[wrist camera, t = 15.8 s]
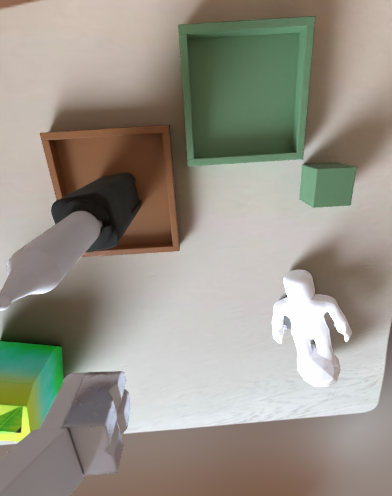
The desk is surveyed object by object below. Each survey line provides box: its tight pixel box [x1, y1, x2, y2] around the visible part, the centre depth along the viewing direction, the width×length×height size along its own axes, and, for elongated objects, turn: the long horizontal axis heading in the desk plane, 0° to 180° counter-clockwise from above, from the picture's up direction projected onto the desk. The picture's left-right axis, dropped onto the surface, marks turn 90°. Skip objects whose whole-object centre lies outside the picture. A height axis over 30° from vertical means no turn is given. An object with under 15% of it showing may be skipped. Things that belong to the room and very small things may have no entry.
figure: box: [272, 270, 352, 387], centre depth 43 cm, size 11×7×20 cm
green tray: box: [178, 16, 315, 166], centre depth 32 cm, size 14×14×3 cm
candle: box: [0, 173, 142, 310], centre depth 25 cm, size 5×5×25 cm
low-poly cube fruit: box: [0, 341, 64, 442], centre depth 40 cm, size 11×10×15 cm
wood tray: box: [40, 125, 180, 257], centre depth 36 cm, size 16×15×2 cm
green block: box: [300, 163, 357, 208], centre depth 35 cm, size 4×4×4 cm
